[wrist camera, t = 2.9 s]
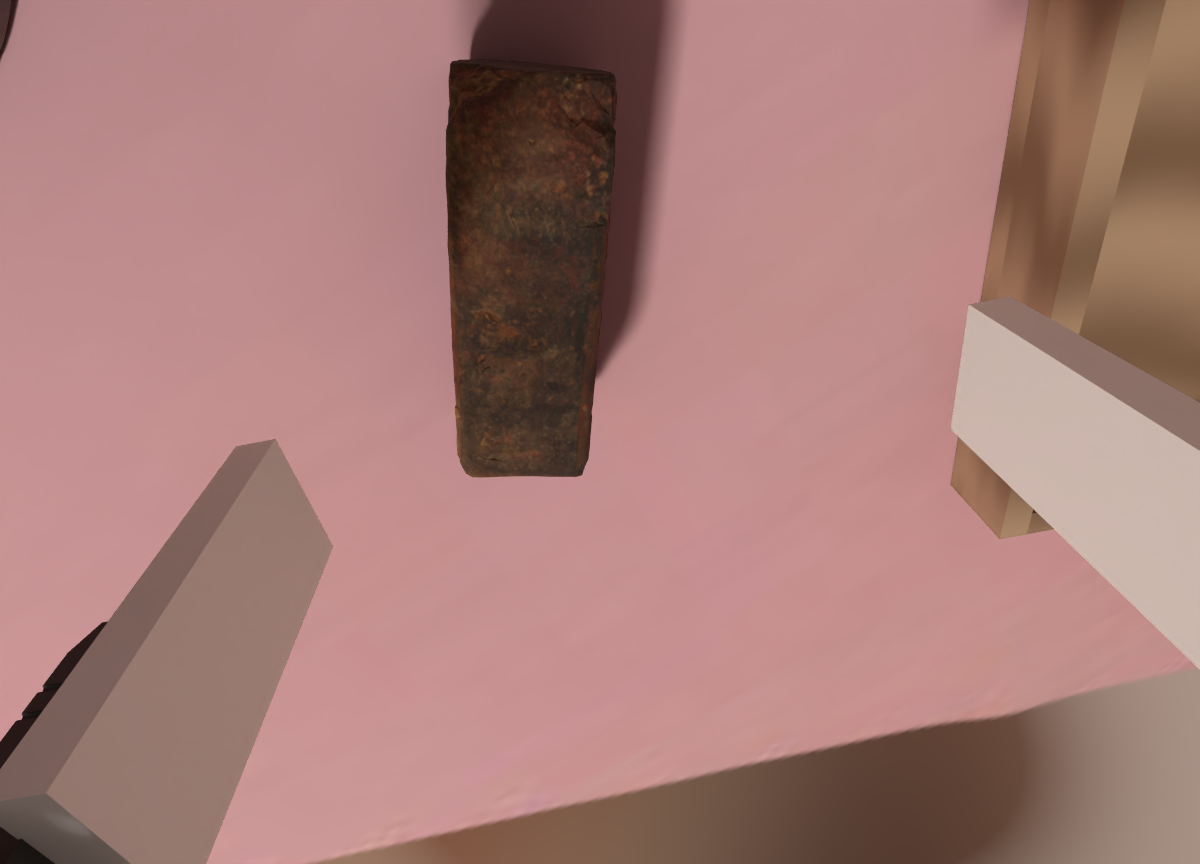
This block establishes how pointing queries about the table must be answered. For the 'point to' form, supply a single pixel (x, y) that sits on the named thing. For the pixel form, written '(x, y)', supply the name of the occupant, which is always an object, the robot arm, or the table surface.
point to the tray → (1100, 200)
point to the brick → (527, 260)
